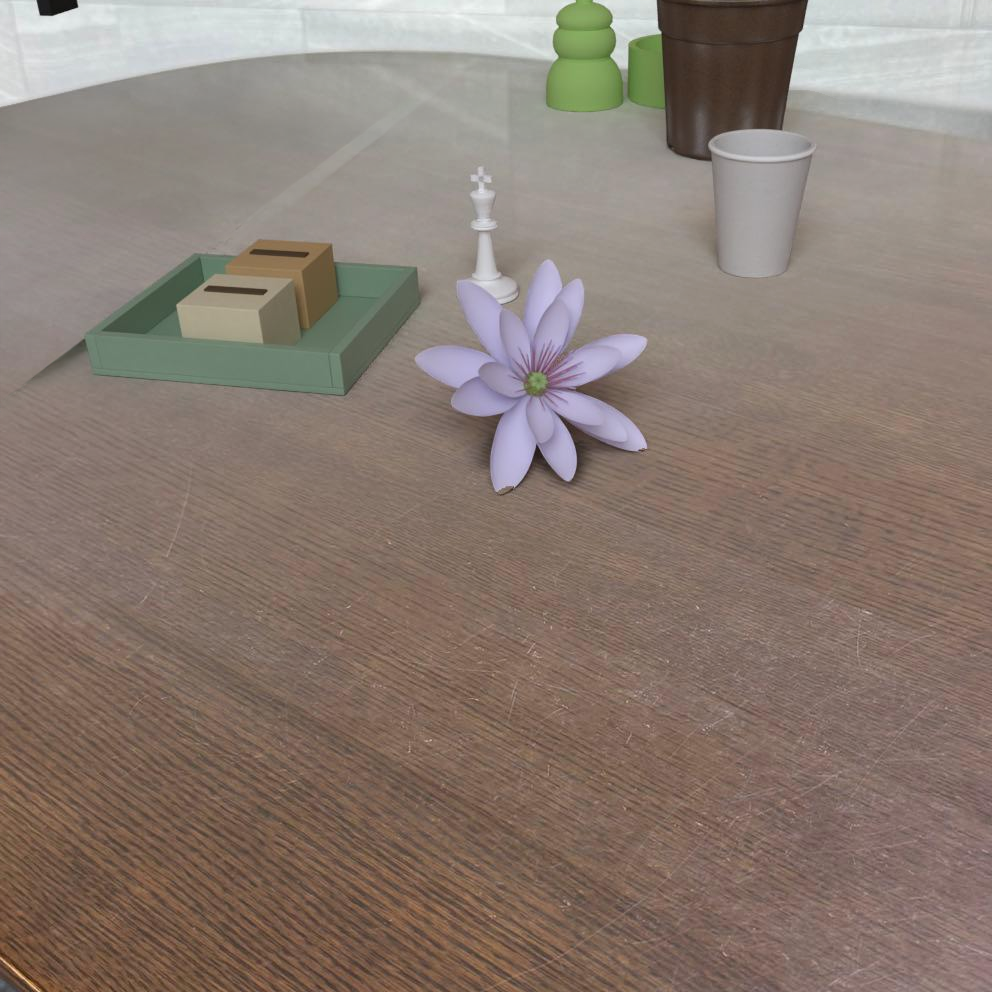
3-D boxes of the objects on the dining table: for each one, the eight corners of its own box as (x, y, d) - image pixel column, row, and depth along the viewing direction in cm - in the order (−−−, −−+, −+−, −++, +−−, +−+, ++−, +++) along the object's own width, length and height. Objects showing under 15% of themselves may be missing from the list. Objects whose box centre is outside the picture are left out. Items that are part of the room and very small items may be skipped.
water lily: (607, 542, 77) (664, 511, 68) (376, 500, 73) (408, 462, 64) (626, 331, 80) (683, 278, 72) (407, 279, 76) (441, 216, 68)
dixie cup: (690, 277, 97) (696, 151, 92) (716, 244, 104) (723, 125, 98) (793, 289, 95) (805, 160, 89) (813, 254, 101) (826, 132, 96)
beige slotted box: (187, 365, 83) (175, 302, 81) (225, 332, 88) (214, 271, 86) (267, 372, 82) (257, 308, 80) (301, 338, 87) (293, 276, 85)
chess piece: (504, 309, 92) (499, 178, 87) (446, 302, 94) (437, 173, 88) (527, 286, 96) (524, 160, 91) (470, 280, 98) (464, 155, 92)
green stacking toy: (723, 79, 157) (729, -26, 151) (761, 104, 145) (769, -9, 139) (536, 92, 154) (533, -16, 147) (559, 119, 142) (557, 3, 135)
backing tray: (93, 374, 84) (83, 334, 82) (201, 288, 97) (194, 252, 96) (344, 395, 80) (339, 354, 78) (420, 303, 94) (417, 266, 92)
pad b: (234, 323, 90) (224, 263, 87) (266, 294, 95) (258, 236, 92) (309, 329, 88) (301, 268, 86) (338, 299, 93) (331, 241, 91)
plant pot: (785, 173, 121) (801, 0, 112) (630, 162, 126) (634, -6, 117) (809, 133, 134) (824, -25, 125) (667, 124, 138) (673, -29, 130)
